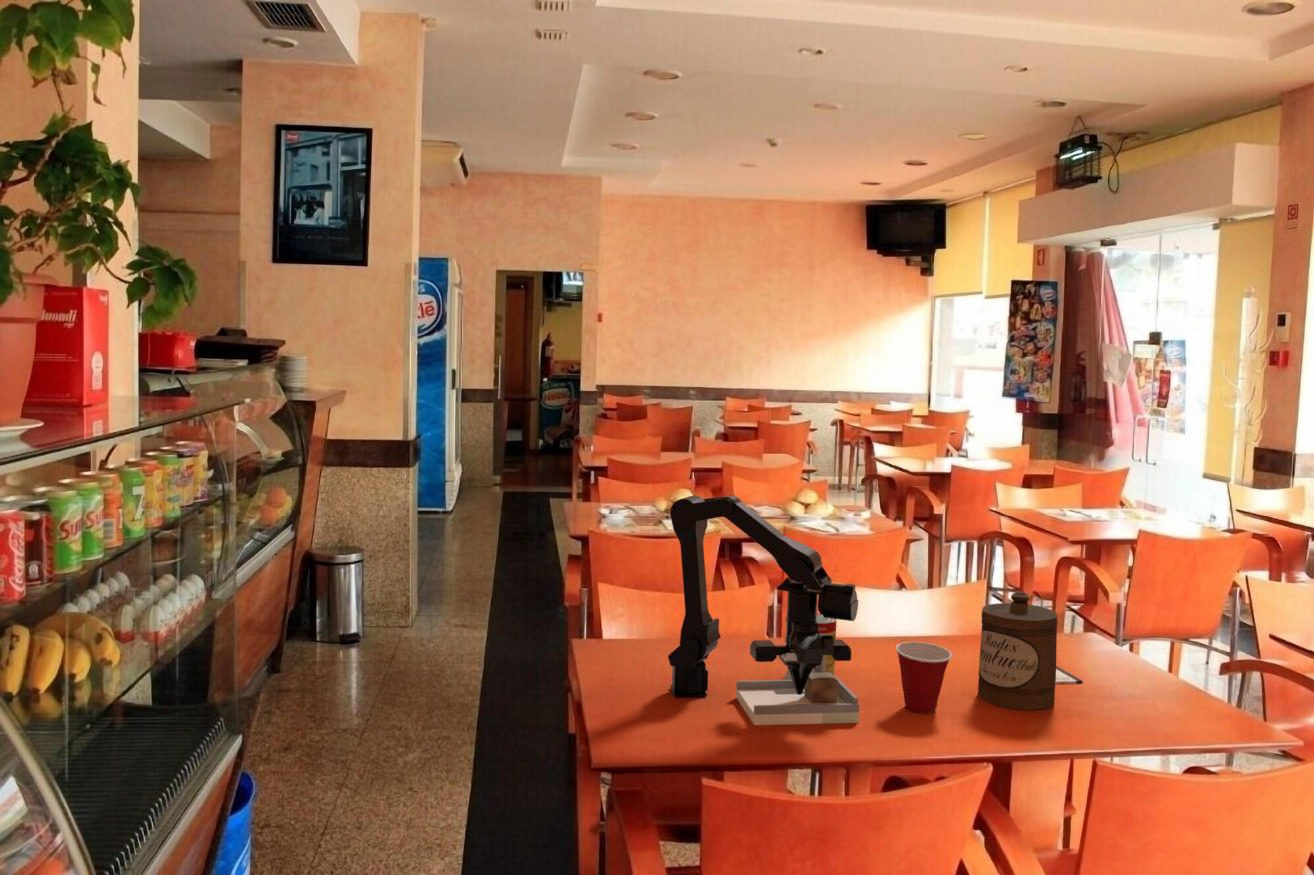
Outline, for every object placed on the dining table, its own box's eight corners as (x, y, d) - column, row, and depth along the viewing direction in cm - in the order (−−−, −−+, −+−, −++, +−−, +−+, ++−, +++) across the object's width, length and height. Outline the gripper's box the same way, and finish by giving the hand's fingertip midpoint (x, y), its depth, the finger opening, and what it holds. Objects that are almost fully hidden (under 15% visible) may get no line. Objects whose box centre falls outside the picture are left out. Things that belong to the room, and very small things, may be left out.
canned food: (833, 668, 246) (835, 614, 245) (835, 679, 238) (837, 623, 237) (797, 666, 247) (799, 612, 246) (798, 677, 239) (800, 621, 238)
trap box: (754, 725, 208) (755, 701, 208) (736, 697, 224) (736, 675, 223) (858, 722, 211) (859, 699, 211) (833, 695, 227) (834, 674, 226)
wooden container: (963, 696, 229) (968, 589, 227) (1004, 683, 238) (1009, 581, 237) (1028, 715, 218) (1034, 604, 216) (1068, 701, 227) (1074, 594, 225)
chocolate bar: (1041, 657, 257) (1082, 680, 240) (1041, 661, 258) (1082, 685, 240) (1004, 658, 256) (1042, 681, 238) (1004, 662, 256) (1042, 686, 238)
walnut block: (811, 703, 215) (812, 680, 215) (804, 695, 220) (805, 672, 220) (836, 702, 216) (837, 680, 216) (829, 694, 221) (830, 672, 220)
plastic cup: (917, 721, 213) (920, 659, 212) (881, 704, 222) (884, 644, 221) (961, 713, 218) (964, 653, 217) (924, 697, 227) (926, 639, 226)
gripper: (764, 625, 207) (761, 708, 208) (862, 624, 209) (858, 706, 210) (750, 611, 218) (748, 690, 219) (844, 610, 220) (840, 688, 221)
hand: (798, 694), depth 217 cm, fingers closed
